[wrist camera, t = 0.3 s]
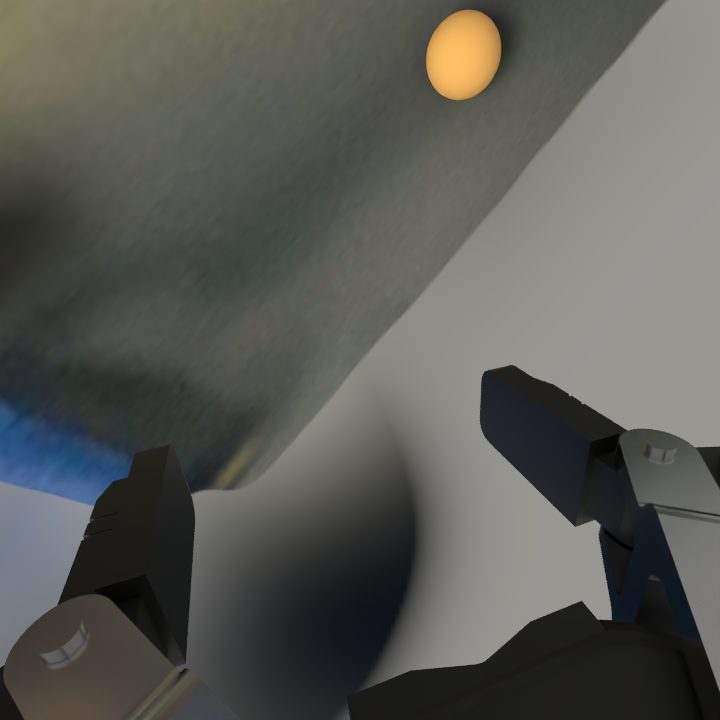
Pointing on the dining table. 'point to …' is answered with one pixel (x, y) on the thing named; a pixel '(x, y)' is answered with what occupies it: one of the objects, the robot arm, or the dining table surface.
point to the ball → (463, 54)
